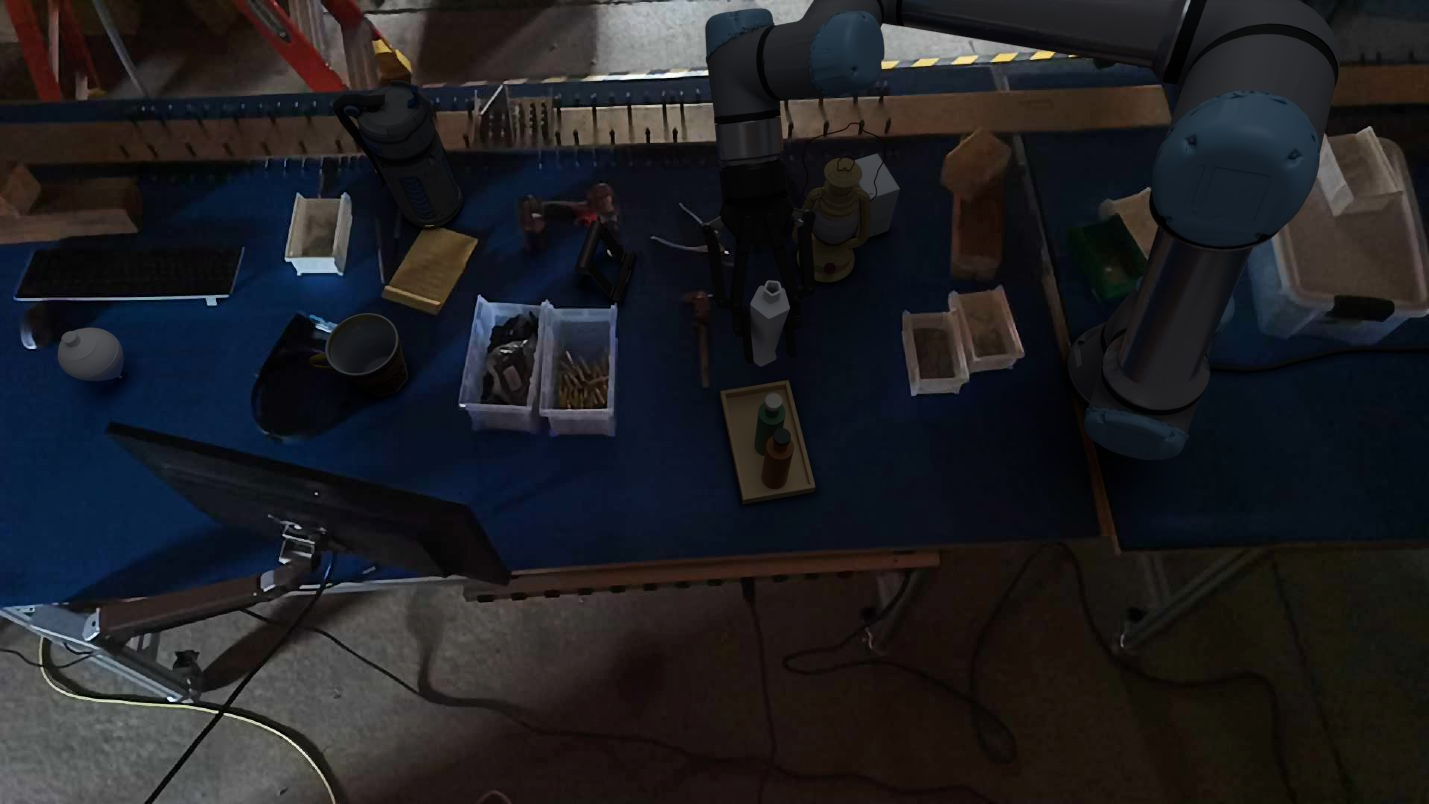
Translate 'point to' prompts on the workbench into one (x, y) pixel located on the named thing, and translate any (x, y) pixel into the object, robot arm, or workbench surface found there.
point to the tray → (742, 431)
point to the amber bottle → (777, 459)
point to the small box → (878, 193)
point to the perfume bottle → (767, 320)
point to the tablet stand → (589, 268)
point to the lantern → (837, 216)
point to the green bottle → (768, 421)
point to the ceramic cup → (366, 354)
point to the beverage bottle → (404, 150)
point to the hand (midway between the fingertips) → (770, 357)
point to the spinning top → (91, 354)
